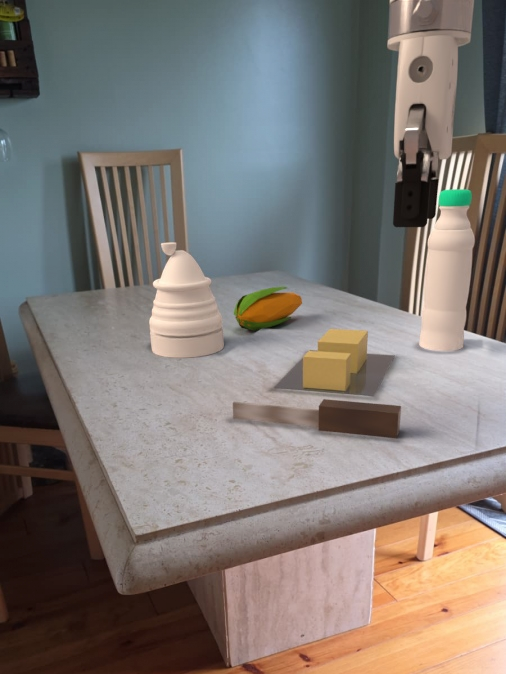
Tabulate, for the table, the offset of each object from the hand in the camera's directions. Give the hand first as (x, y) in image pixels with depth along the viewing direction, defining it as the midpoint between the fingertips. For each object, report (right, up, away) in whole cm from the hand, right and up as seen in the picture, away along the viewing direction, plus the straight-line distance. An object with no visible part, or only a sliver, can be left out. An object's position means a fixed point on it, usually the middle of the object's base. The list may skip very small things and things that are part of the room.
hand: (415, 222), depth 65 cm
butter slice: (-7, -15, +22) cm, 27 cm away
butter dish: (-4, -13, +29) cm, 32 cm away
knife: (-10, -22, +9) cm, 26 cm away
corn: (-13, +1, +61) cm, 62 cm away
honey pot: (-29, -6, +47) cm, 55 cm away
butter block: (-3, -11, +31) cm, 33 cm away
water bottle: (+15, -7, +40) cm, 43 cm away
